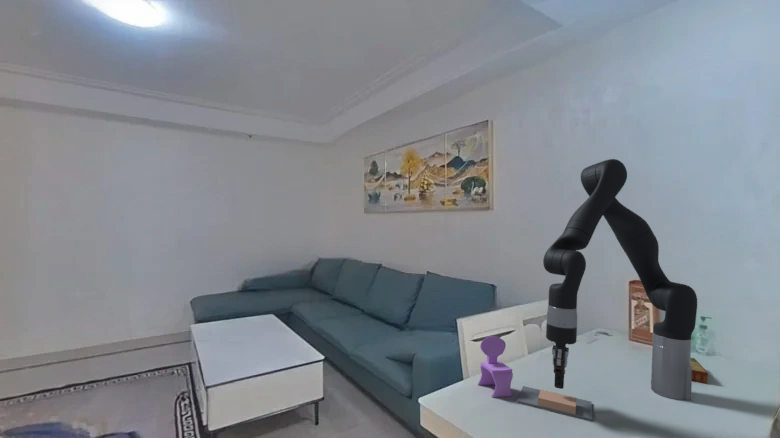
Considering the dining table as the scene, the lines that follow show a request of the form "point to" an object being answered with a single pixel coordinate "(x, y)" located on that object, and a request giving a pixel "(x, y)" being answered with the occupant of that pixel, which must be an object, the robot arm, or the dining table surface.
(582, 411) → the mat
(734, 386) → the dining table surface
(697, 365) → the carton
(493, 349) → the toy chair
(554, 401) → the block
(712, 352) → the dining table surface
